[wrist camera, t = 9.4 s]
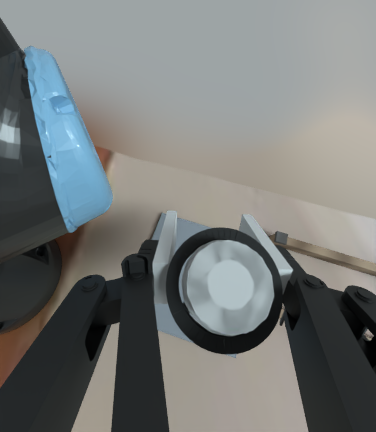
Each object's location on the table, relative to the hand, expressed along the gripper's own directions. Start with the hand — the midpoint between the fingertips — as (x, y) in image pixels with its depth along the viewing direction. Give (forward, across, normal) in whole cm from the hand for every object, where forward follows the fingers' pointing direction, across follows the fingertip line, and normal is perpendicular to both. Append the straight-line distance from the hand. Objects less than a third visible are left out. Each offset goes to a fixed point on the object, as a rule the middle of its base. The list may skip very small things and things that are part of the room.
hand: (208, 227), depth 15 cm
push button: (0, 0, -5) cm, 5 cm away
